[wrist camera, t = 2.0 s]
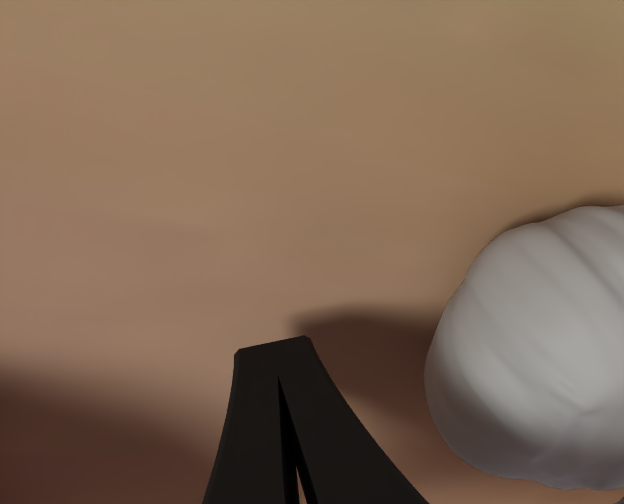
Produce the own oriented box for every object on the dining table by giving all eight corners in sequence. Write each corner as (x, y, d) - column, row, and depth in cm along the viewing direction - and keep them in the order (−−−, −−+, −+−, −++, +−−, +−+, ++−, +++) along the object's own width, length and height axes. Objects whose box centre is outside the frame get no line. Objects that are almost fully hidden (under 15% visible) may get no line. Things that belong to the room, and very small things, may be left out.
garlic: (470, 400, 14) (589, 620, 10) (344, 297, 11) (438, 544, 7) (679, 260, 13) (921, 449, 9) (595, 99, 10) (897, 267, 6)
